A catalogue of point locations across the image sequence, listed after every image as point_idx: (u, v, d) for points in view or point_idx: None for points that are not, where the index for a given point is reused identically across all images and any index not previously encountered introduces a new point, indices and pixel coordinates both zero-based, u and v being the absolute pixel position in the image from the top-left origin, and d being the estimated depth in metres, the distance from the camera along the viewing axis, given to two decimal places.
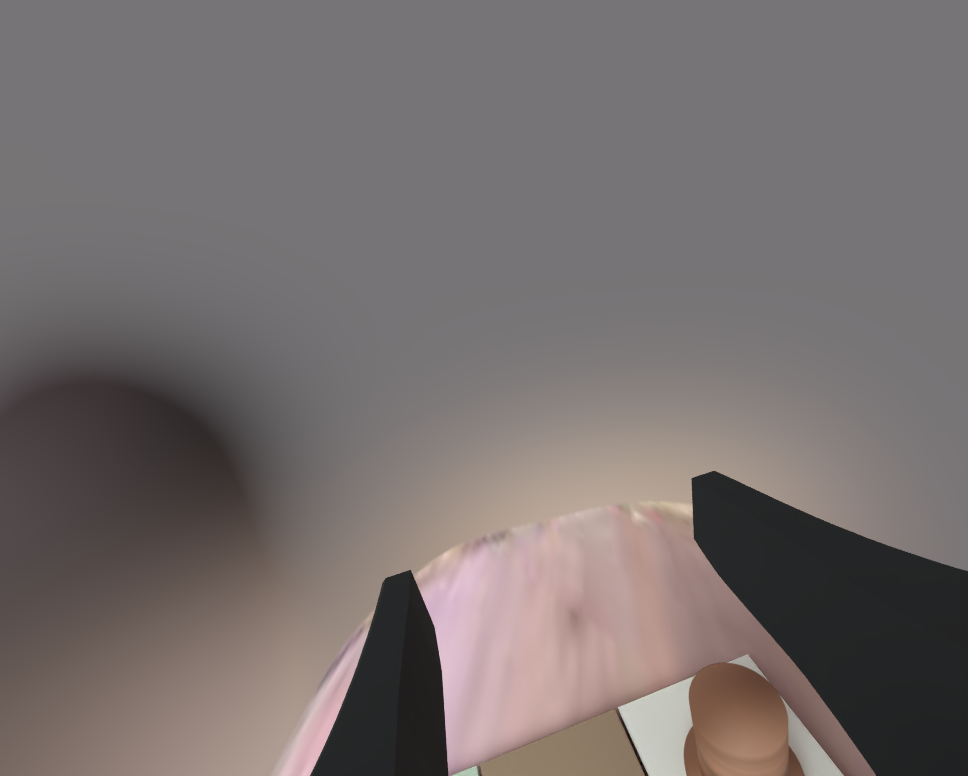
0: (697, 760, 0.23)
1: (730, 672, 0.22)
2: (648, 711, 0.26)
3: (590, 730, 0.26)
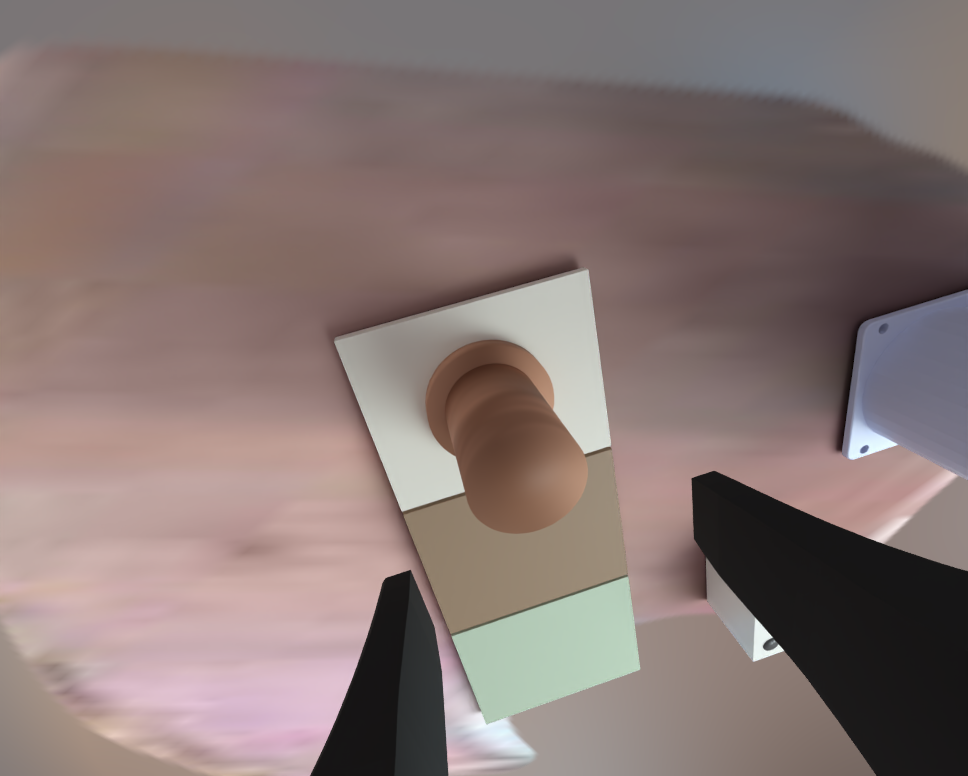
0: None
1: (482, 478, 0.14)
2: (409, 480, 0.20)
3: (426, 539, 0.22)
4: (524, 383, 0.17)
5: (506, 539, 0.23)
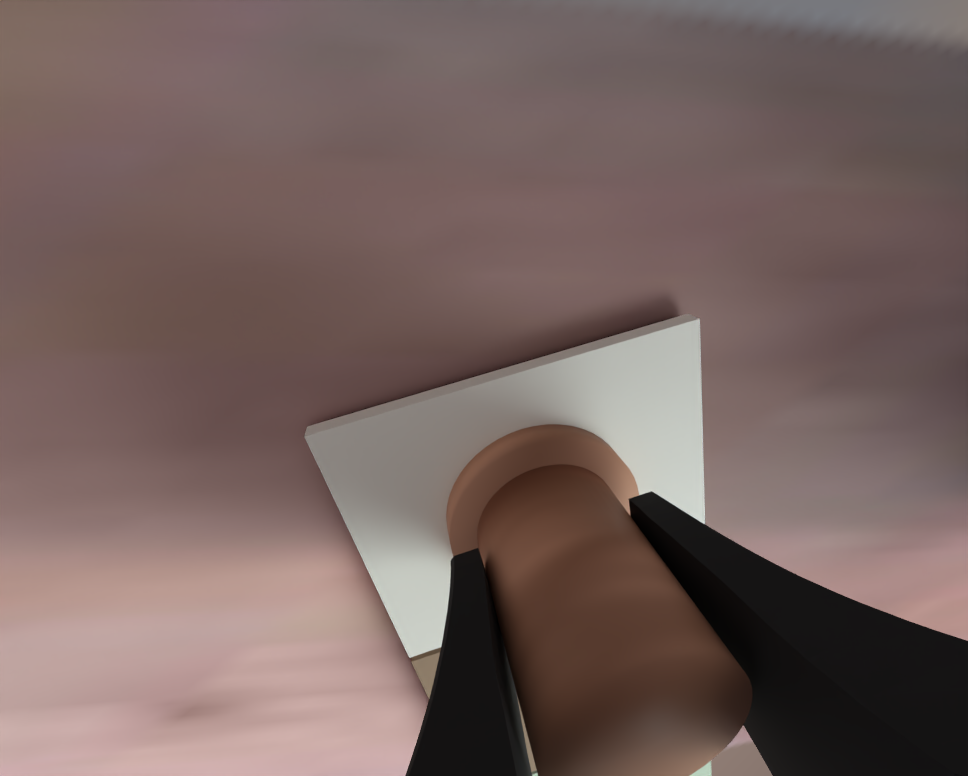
0: None
1: (569, 739, 0.07)
2: (420, 618, 0.14)
3: None
4: (611, 510, 0.10)
5: None
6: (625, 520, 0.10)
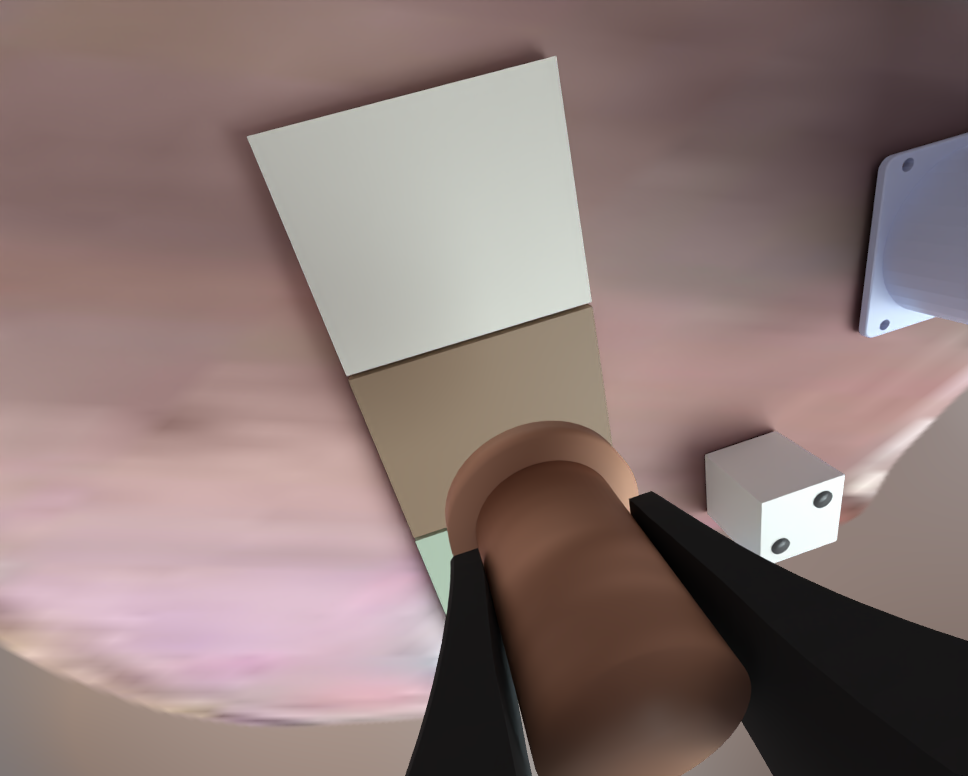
0: None
1: (566, 733, 0.07)
2: (352, 334, 0.17)
3: (378, 414, 0.19)
4: (610, 505, 0.10)
5: (473, 419, 0.20)
6: (624, 515, 0.10)
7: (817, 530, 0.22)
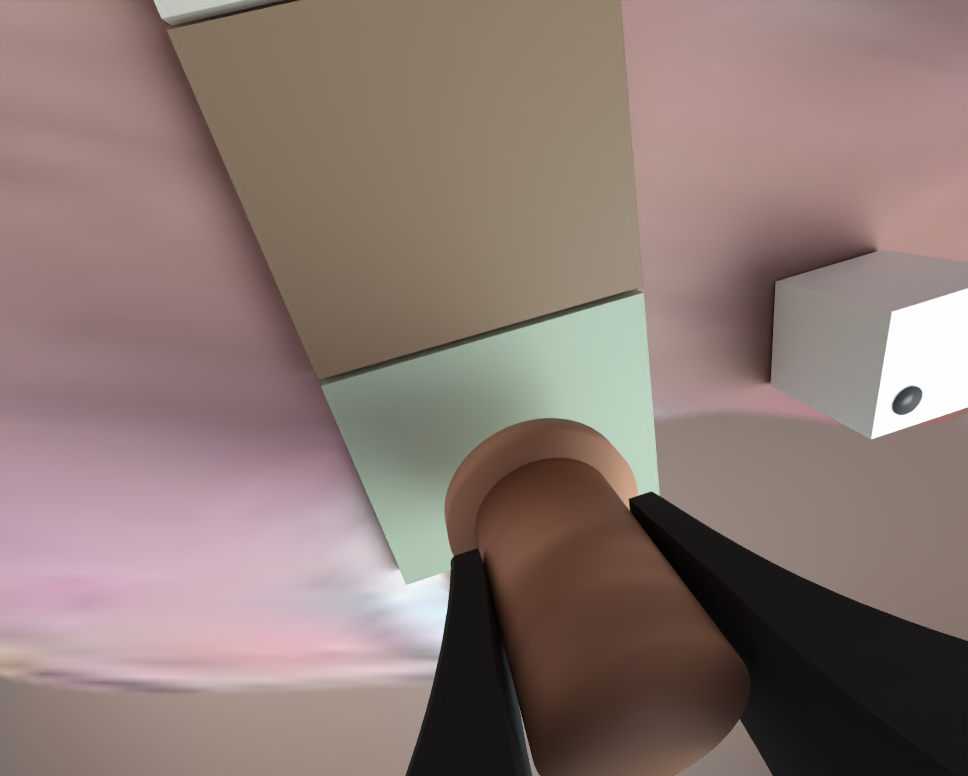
0: None
1: (565, 727, 0.07)
2: None
3: (232, 117, 0.11)
4: (608, 501, 0.10)
5: (407, 152, 0.12)
6: (622, 512, 0.10)
7: (965, 376, 0.14)
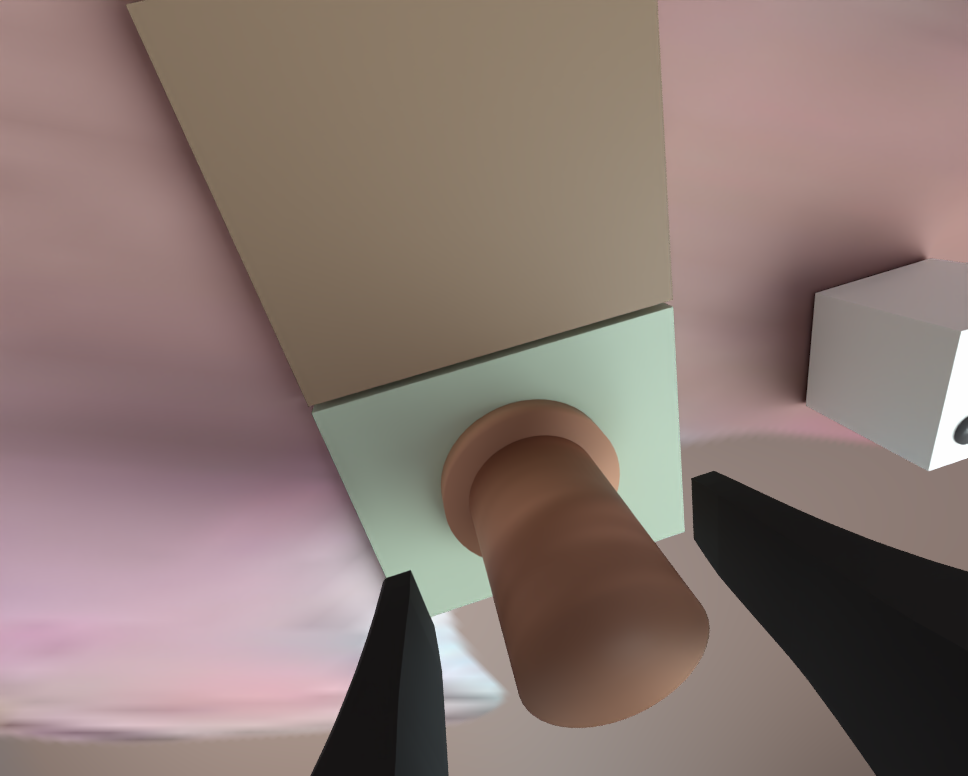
0: None
1: (545, 661, 0.08)
2: None
3: (206, 109, 0.09)
4: (590, 473, 0.11)
5: (409, 150, 0.10)
6: (602, 482, 0.11)
7: None
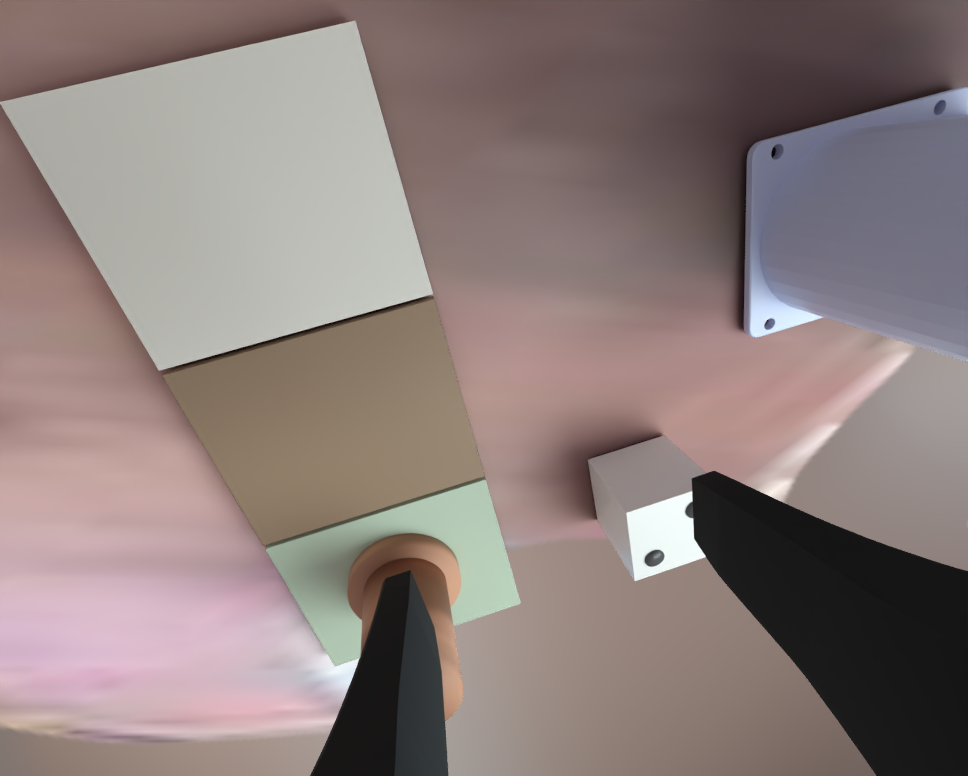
0: None
1: None
2: (159, 325, 0.16)
3: (202, 412, 0.17)
4: (423, 588, 0.20)
5: (313, 419, 0.18)
6: (430, 594, 0.19)
7: (694, 541, 0.20)
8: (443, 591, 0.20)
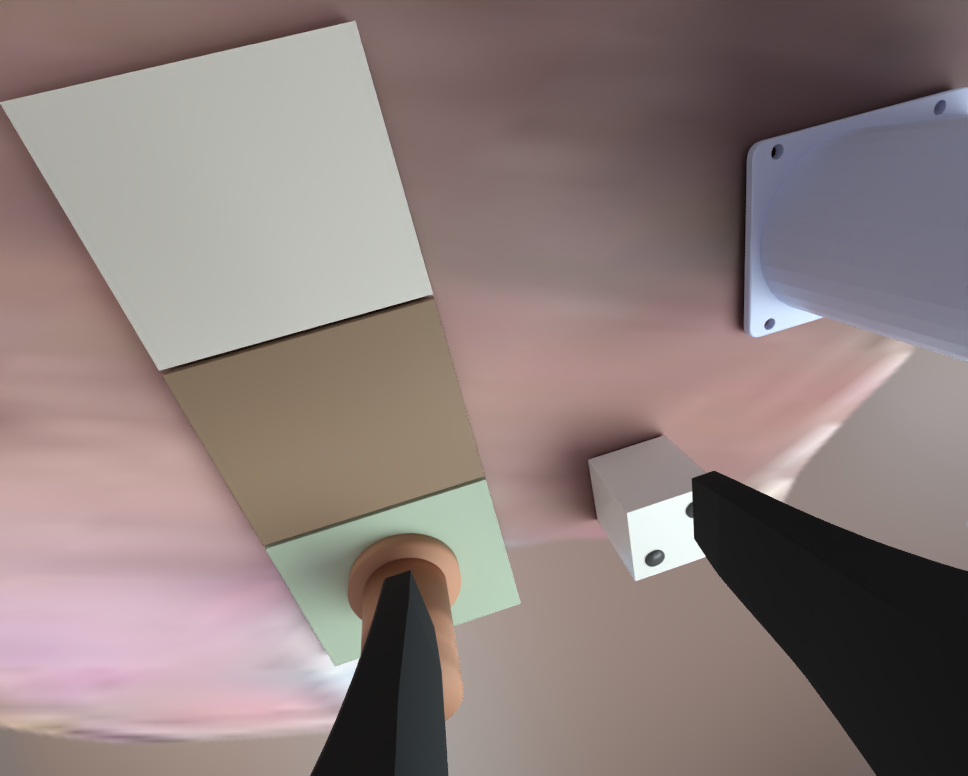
0: None
1: None
2: (159, 325, 0.16)
3: (202, 413, 0.17)
4: (424, 588, 0.20)
5: (313, 419, 0.18)
6: (430, 594, 0.19)
7: (694, 541, 0.20)
8: (443, 591, 0.20)
